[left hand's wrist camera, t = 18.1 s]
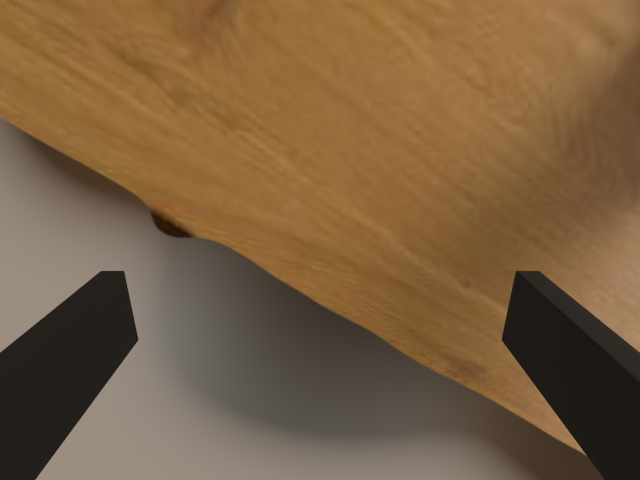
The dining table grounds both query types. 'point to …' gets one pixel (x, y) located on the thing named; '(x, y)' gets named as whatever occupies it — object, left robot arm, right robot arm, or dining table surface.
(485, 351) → the dining table surface
